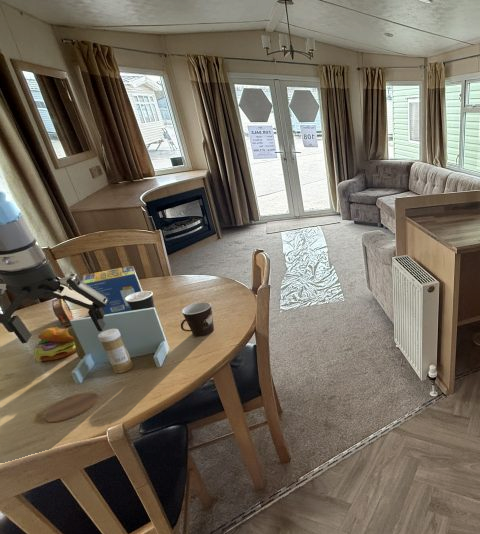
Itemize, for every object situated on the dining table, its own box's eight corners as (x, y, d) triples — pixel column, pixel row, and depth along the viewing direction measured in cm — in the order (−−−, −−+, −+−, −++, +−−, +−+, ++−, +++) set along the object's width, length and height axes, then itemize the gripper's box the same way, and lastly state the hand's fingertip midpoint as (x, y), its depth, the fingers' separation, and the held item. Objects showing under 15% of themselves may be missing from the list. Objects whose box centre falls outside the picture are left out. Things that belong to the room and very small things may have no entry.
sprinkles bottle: (134, 362, 107) (120, 326, 101) (132, 370, 103) (116, 334, 98) (115, 367, 104) (99, 330, 99) (112, 376, 101) (95, 338, 95)
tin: (74, 327, 123) (64, 307, 120) (61, 331, 121) (51, 310, 118) (72, 312, 133) (63, 293, 129) (60, 315, 130) (51, 296, 127)
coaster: (37, 413, 88) (36, 412, 87) (87, 388, 96) (86, 387, 96) (54, 428, 84) (53, 427, 83) (105, 401, 92) (104, 400, 92)
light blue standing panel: (76, 384, 97) (52, 338, 91) (92, 363, 106) (71, 319, 99) (161, 366, 105) (144, 323, 99) (169, 348, 113) (154, 307, 107)
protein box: (96, 310, 134) (80, 275, 128) (145, 298, 144) (133, 265, 138) (95, 321, 127) (79, 284, 121) (147, 308, 137) (135, 273, 131)
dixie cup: (149, 314, 132) (140, 289, 128) (166, 317, 131) (158, 292, 127) (129, 325, 125) (118, 299, 121) (146, 328, 124) (136, 302, 119)
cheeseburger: (28, 358, 107) (25, 328, 105) (74, 347, 117) (72, 319, 115) (42, 367, 103) (39, 336, 101) (89, 355, 113) (87, 326, 111)
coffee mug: (209, 322, 128) (202, 299, 124) (222, 329, 124) (216, 306, 120) (175, 338, 119) (166, 313, 115) (188, 345, 115) (180, 320, 111)
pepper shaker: (73, 360, 107) (58, 331, 102) (88, 348, 112) (74, 320, 108) (94, 358, 108) (81, 329, 103) (108, 347, 113) (96, 319, 109)
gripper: (-81, 281, 64) (-16, 356, 76) (93, 265, 75) (127, 332, 87) (-57, 260, 70) (0, 333, 81) (102, 248, 81) (133, 314, 92)
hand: (65, 333), depth 84 cm, fingers open, 13 cm apart
